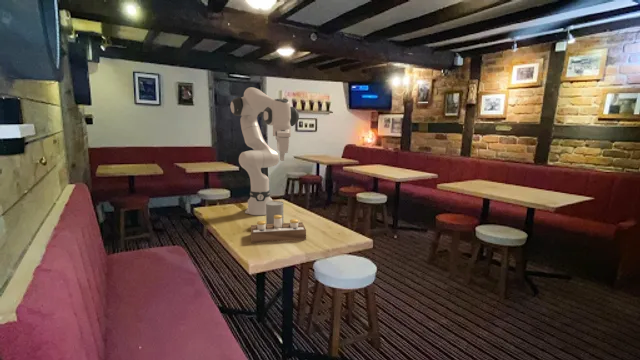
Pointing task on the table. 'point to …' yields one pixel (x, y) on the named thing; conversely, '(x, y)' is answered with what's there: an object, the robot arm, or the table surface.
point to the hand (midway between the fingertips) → (282, 160)
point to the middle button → (277, 221)
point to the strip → (278, 229)
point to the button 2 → (293, 223)
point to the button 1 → (261, 225)
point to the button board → (277, 234)
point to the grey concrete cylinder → (273, 211)
